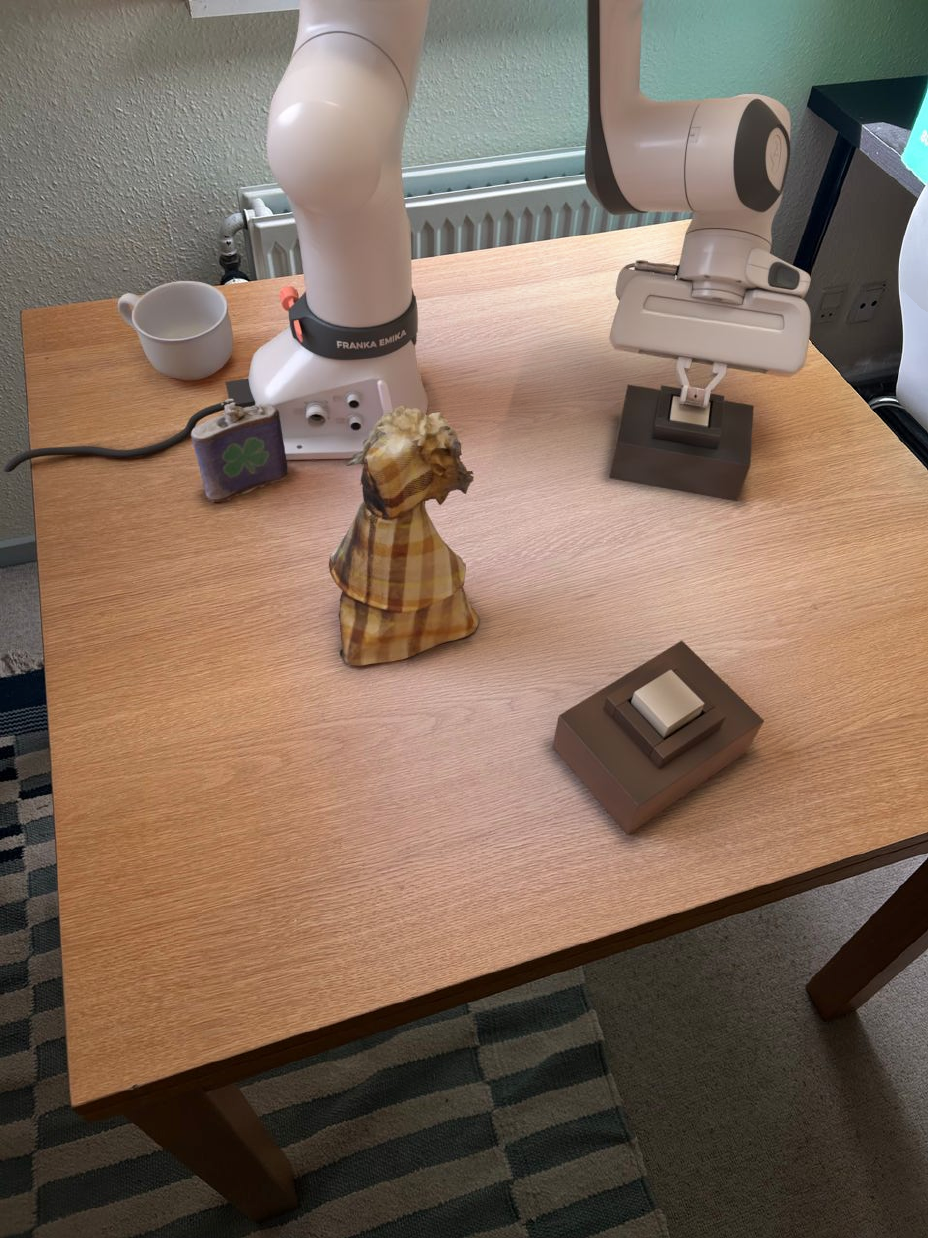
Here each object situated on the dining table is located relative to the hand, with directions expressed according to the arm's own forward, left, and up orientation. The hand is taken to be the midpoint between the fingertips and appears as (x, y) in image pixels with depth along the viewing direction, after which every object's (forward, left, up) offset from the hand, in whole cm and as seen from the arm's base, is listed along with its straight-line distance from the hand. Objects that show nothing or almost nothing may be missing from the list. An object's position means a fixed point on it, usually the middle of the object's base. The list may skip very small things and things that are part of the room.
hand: (692, 405), depth 97 cm
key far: (0, 0, -2) cm, 2 cm away
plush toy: (-35, -14, -8) cm, 39 cm away
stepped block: (0, 0, -8) cm, 8 cm away
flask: (-47, +7, -8) cm, 48 cm away
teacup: (-52, +30, -8) cm, 61 cm away
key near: (-17, -34, -1) cm, 38 cm away
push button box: (-17, -34, -8) cm, 39 cm away
